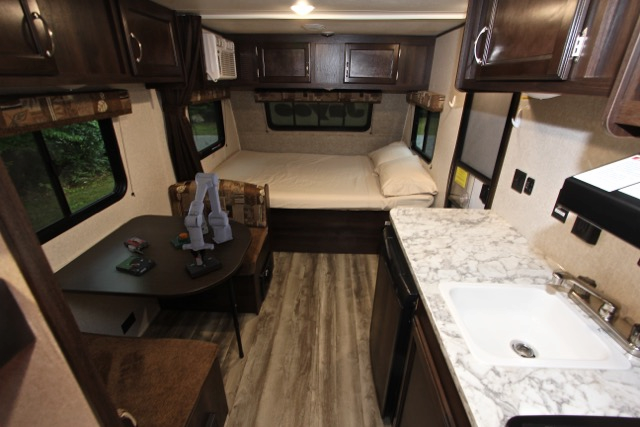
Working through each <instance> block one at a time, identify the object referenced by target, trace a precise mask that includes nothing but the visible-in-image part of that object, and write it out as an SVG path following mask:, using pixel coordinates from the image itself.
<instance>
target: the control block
mask: <svg viewBox="0 0 640 427" xmlns="http://www.w3.org/2000/svg"><path fill="white" fill-rule="evenodd" d="M170 242H171V244H172V246H174V248H175V249H176V250H179V249H183V247H182V246H183V245H184V244H191V240H190V235H189V233H187V237H186V238H184V239H181V238H180V236H179V235H178V236H177V237H174V238H171V239H170Z"/></svg>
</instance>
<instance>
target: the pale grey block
mask: <svg viewBox="0 0 640 427" xmlns="http://www.w3.org/2000/svg"><path fill="white" fill-rule="evenodd" d="M196 260H197V265H201V264H202V259H201V255H200V253H199V255H198V256H197V258H195V261H196Z"/></svg>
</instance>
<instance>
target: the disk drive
mask: <svg viewBox="0 0 640 427" xmlns="http://www.w3.org/2000/svg"><path fill="white" fill-rule="evenodd" d="M155 265H156V261H155V260H153V259H149V258H144V257H141V256H136V255H135V256H134V255H131V256H129V257H128V258H126V259H124V260H123V261H122V262H120V263H119V264H116V265H115V267H114V268H115V270H116V271H118V272H122V273H125V274H130V275H134V276H138V277H139V276H141V275H143V274H144V273H145V272H147V271H149V270H150V269H151V268H153V267H154V266H155Z"/></svg>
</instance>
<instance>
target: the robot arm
mask: <svg viewBox="0 0 640 427" xmlns="http://www.w3.org/2000/svg"><path fill="white" fill-rule="evenodd" d="M194 178H195V184H196V192H195V197H194V200H193V201H191V202H190V206H189V208H190V210H189V211H188V213H187V214H188V215H186V216H185V217H184V226H185V228H186V230H187V231H188V234H189V235H190V240H191V244H184V245H183V246H182V247H183V248H182V250H184V251H185V250H190V252H189V253H190V254H191V255H192V256H193V257H194V259H196V258H197V256H198V255H199V253H200V255H201V259H202V262H204V260H205V257H206V253H207V250H211V251H212V250H214V249H215V246H214V245H215V244H213V243H207V242H205V241H204V236H203V235H204V234H203V235H202V229H201V225H202V211H203V209H204V207H205V204H204V198H205V197H206V193H207V192H208V199H209V204H210V210H211V212H210V213H209V214H208V225H209V226H210V227H211V228H212V229H213V236H214V237H212V240H213V241H214V242H215V243H216V244H217V245H219V244H222V243H225V242H228V241H231V240H233V239H234V237H233V234H232V233H233V232H232V228H231V225H230V224H229V217H228V214H227V212H225V211H223V210H222V206H221V202H220V197H219V190H218V186H219V185H220V180H219V176H218V174H217V173H216V172H197V173H196V174H195V177H194Z"/></svg>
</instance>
